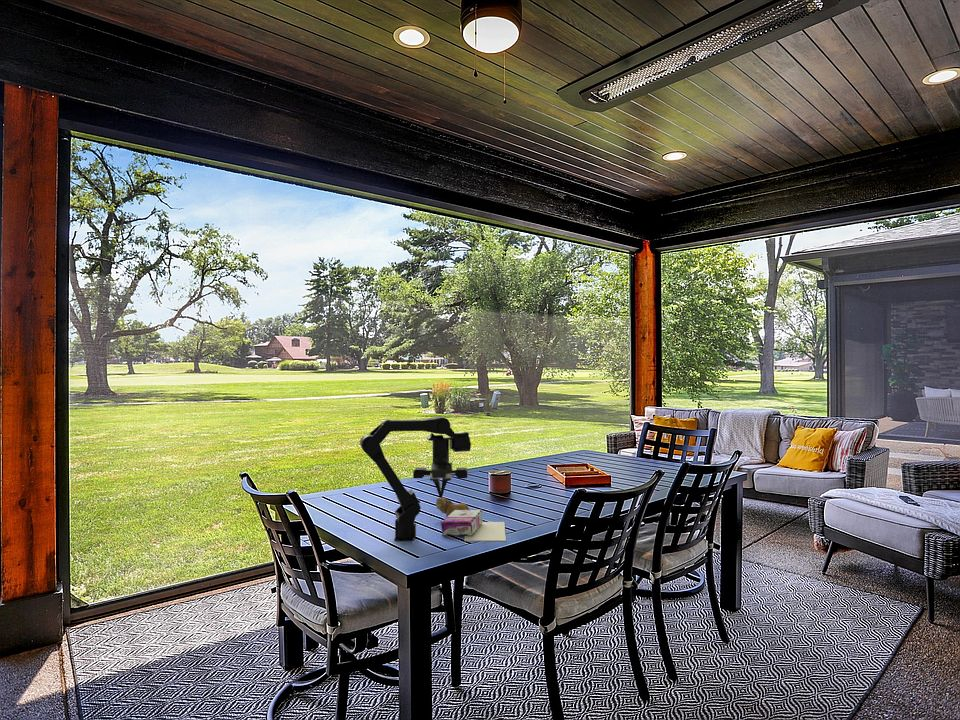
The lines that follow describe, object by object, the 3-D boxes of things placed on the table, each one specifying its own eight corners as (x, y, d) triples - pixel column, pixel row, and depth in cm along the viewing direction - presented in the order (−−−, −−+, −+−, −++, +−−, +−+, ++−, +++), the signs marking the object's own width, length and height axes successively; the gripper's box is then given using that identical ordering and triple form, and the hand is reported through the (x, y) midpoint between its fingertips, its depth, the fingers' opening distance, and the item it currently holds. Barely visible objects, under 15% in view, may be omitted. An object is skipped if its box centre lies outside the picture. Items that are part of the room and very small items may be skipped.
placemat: (464, 541, 192) (464, 540, 192) (467, 522, 214) (467, 521, 214) (505, 541, 192) (505, 540, 192) (504, 522, 214) (504, 521, 214)
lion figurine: (435, 522, 214) (435, 498, 214) (436, 519, 219) (436, 495, 219) (474, 522, 214) (474, 498, 214) (474, 519, 219) (474, 495, 219)
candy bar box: (472, 536, 196) (483, 522, 211) (471, 522, 195) (482, 509, 211) (441, 536, 198) (454, 522, 214) (440, 522, 198) (453, 509, 214)
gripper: (410, 456, 191) (411, 503, 191) (466, 456, 191) (466, 503, 191) (415, 451, 202) (415, 495, 202) (467, 451, 202) (468, 495, 202)
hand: (440, 497), depth 199 cm, fingers closed
